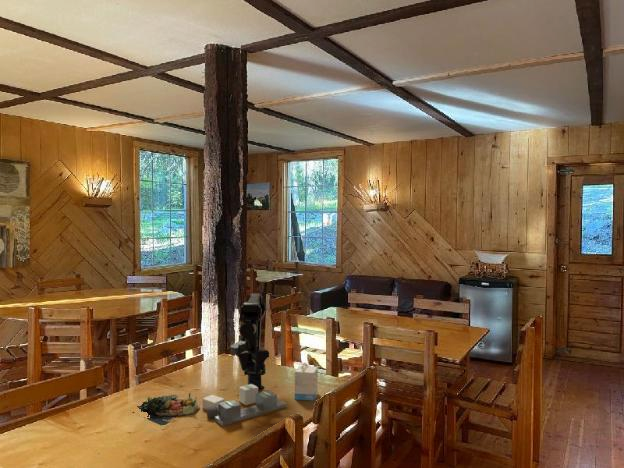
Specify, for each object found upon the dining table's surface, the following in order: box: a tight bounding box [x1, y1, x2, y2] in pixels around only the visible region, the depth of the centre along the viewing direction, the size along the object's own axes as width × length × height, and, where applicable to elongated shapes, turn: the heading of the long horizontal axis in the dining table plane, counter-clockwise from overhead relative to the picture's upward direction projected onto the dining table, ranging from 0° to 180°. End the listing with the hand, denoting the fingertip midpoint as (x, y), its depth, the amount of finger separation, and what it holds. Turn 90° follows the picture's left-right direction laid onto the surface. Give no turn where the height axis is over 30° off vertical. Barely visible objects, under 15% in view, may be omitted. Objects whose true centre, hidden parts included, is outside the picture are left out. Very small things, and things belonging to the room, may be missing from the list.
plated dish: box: [137, 392, 201, 427], centre depth 178 cm, size 35×28×7 cm
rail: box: [214, 389, 287, 427], centre depth 173 cm, size 6×28×6 cm, turn 128°
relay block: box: [202, 394, 225, 411], centre depth 178 cm, size 7×5×4 cm
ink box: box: [294, 361, 319, 402], centre depth 191 cm, size 9×8×13 cm
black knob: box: [206, 406, 218, 420], centre depth 171 cm, size 4×4×3 cm
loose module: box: [238, 384, 259, 406], centre depth 185 cm, size 5×6×6 cm
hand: (249, 372), depth 184 cm, fingers open, 9 cm apart
